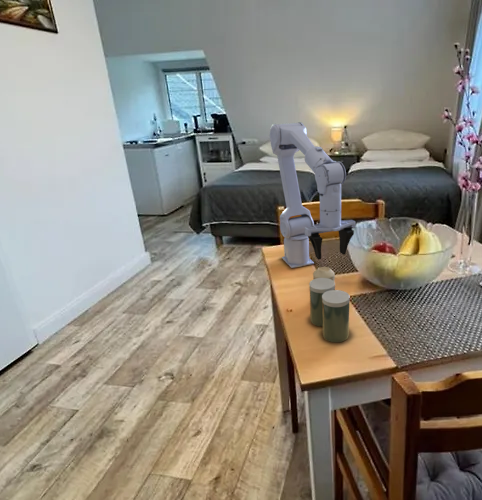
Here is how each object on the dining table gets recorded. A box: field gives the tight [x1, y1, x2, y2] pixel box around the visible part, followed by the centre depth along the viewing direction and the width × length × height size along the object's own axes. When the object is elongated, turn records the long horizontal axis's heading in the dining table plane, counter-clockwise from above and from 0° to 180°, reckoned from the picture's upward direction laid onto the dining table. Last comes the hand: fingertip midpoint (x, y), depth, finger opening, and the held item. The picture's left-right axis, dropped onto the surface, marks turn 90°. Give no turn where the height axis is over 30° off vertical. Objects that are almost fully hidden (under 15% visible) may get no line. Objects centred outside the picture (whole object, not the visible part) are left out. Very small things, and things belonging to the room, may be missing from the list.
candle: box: [312, 266, 336, 283], centre depth 100 cm, size 6×6×10 cm
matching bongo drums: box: [308, 278, 351, 343], centre depth 90 cm, size 13×6×10 cm, turn 23°
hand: (330, 255), depth 108 cm, fingers open, 7 cm apart
